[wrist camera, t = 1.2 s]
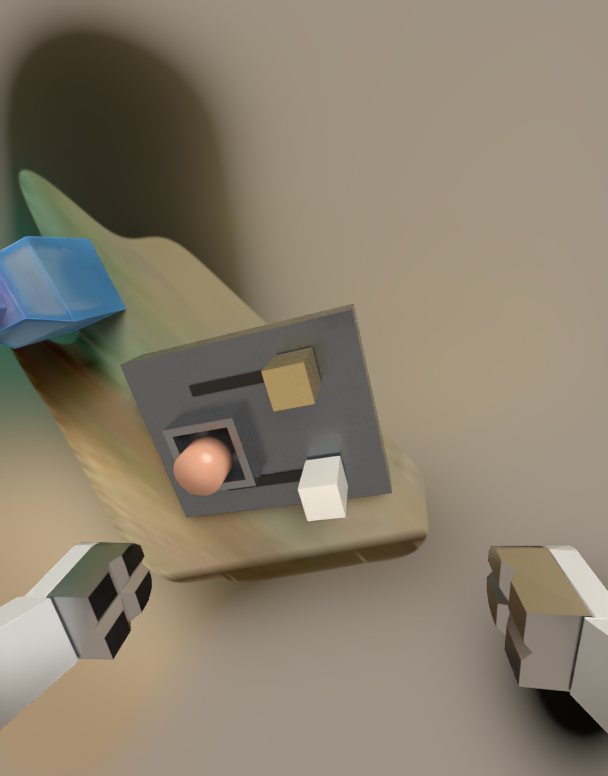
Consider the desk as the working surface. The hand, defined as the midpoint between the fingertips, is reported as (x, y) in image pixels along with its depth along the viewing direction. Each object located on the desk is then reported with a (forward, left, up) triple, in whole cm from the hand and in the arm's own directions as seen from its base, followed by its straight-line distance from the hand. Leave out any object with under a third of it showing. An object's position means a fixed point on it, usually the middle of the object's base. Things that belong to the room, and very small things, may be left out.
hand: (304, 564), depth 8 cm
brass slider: (+4, +1, -20) cm, 21 cm away
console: (+9, +5, -23) cm, 26 cm away
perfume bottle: (+22, -10, -24) cm, 34 cm away
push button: (+13, +6, -19) cm, 23 cm away
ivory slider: (+4, +10, -20) cm, 23 cm away
